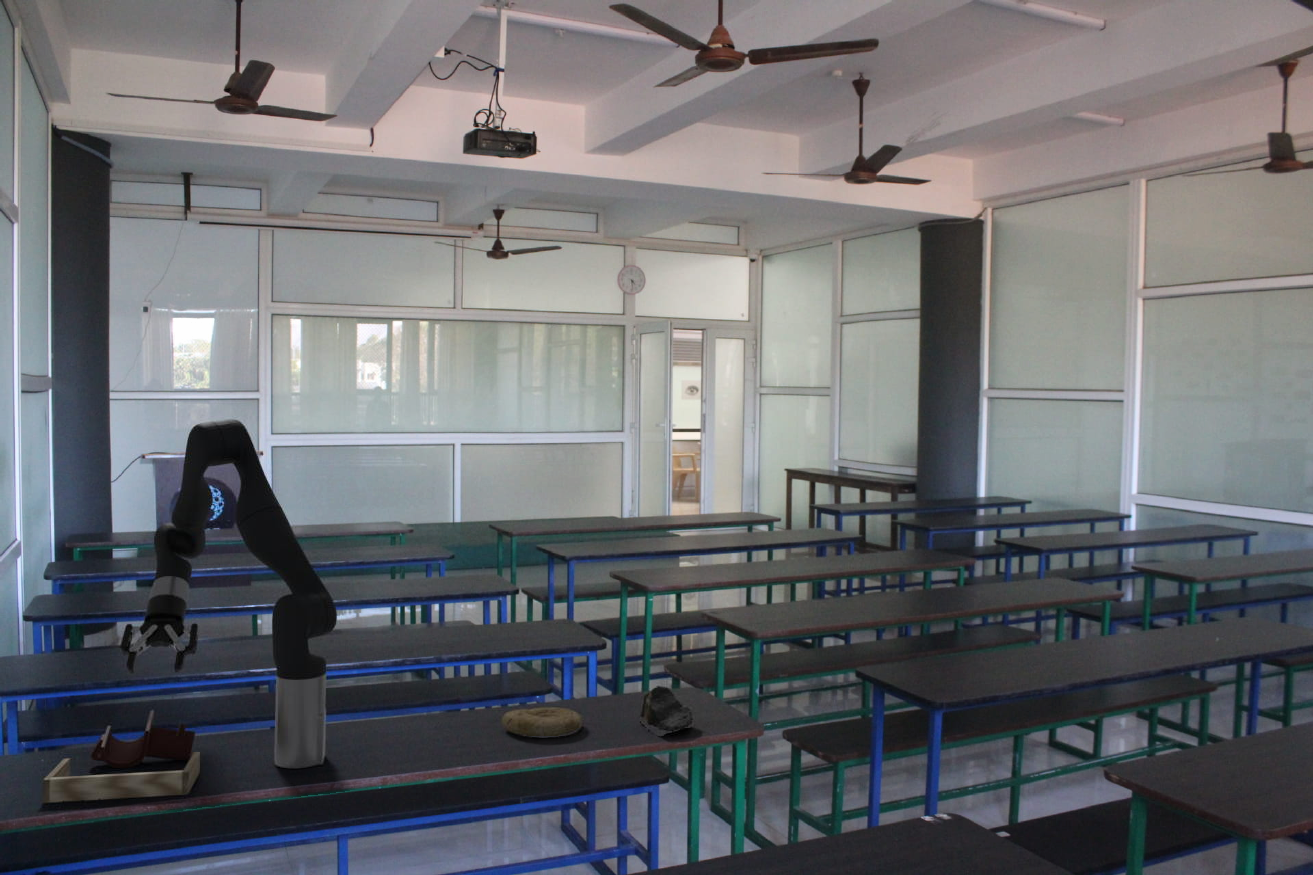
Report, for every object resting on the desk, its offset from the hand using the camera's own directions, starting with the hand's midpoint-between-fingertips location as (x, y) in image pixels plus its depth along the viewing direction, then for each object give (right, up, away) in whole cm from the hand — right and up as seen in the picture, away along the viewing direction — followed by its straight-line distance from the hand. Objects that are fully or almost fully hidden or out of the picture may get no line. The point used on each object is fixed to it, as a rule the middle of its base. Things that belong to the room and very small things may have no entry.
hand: (154, 670), depth 203 cm
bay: (+6, -16, -22) cm, 27 cm away
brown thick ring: (+77, -18, +18) cm, 81 cm away
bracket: (+3, -16, -10) cm, 19 cm away
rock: (+104, -18, +22) cm, 108 cm away
